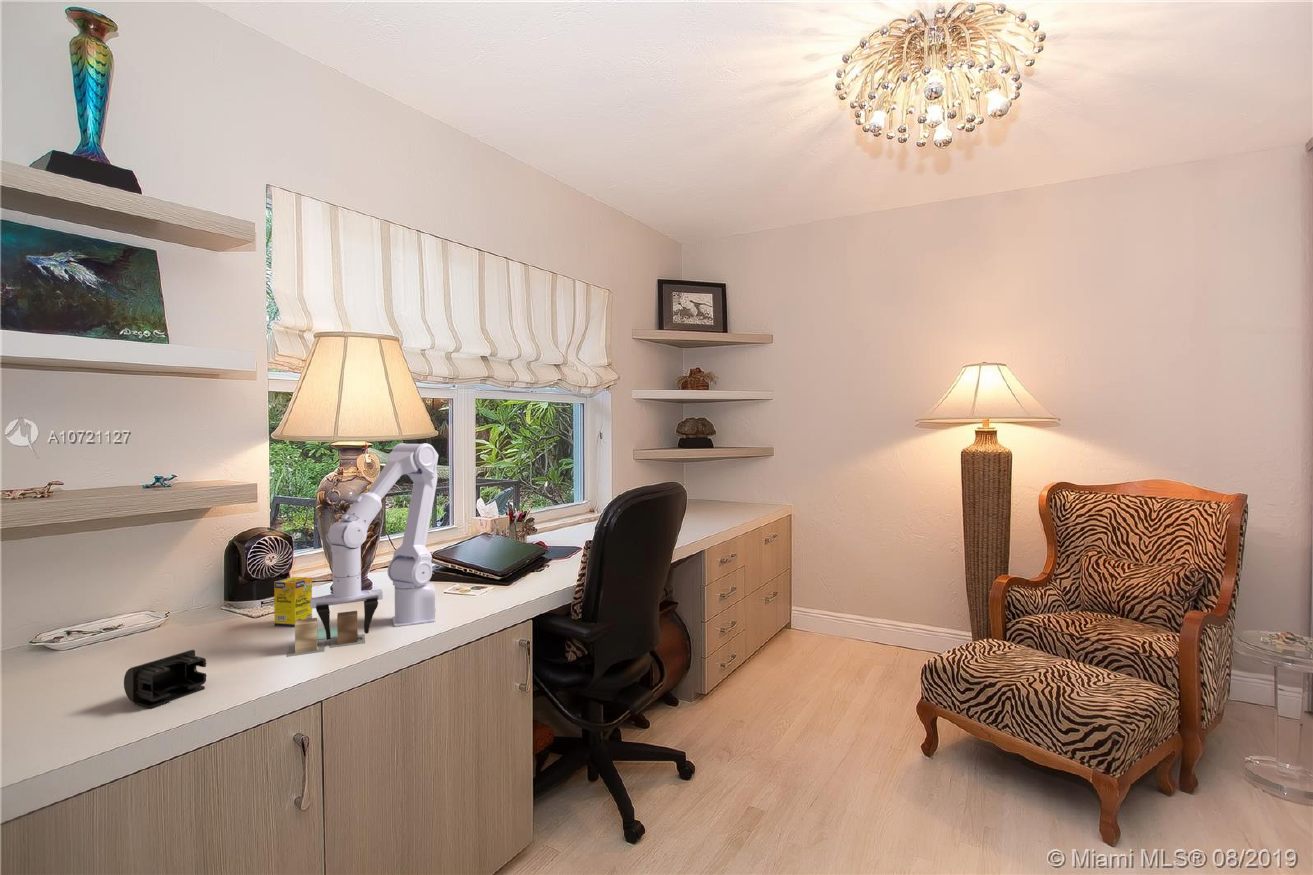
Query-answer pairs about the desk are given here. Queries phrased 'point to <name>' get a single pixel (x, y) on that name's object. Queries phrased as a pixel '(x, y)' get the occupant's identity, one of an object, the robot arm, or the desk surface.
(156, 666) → the end cap
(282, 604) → the supplement box
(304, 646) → the oak block
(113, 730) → the desk surface
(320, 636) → the felt pad
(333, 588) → the robot arm
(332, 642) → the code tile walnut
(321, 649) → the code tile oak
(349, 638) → the walnut block
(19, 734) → the desk surface
